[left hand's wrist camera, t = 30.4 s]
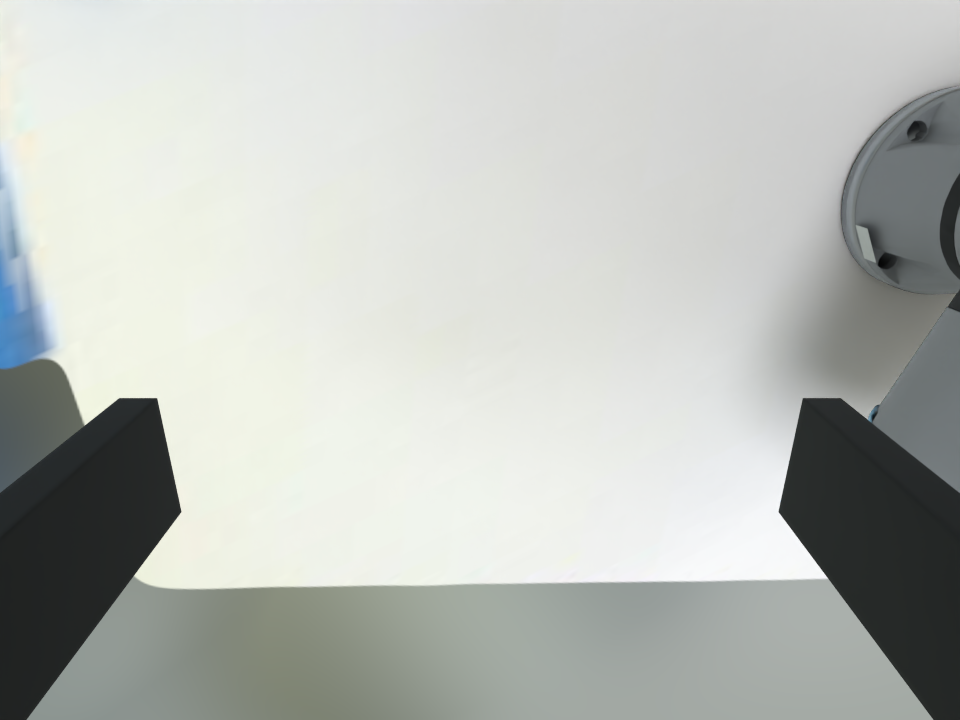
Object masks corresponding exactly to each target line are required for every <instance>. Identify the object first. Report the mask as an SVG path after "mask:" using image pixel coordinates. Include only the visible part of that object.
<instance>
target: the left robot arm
mask: <svg viewBox="0 0 960 720" xmlns="http://www.w3.org/2000/svg"><path fill="white" fill-rule="evenodd" d="M841 215H842V227H843V233H844V237H845V240H846V243H847V245H848V248H849V250H850V252H851V254H852V255H853V257H854V258H855V260H856V261H857V262H858V264H859V265H860V266H861V267H862V268H863V269H864V270H865V271H866V272H868V273H869V274H870V275H872V276H873V277H875V278H876V279H878V280H880V281H882V282H884V283H887V284H889V285H892V286H894V287H896V288H899V289H902V290H905V291H908V292H913V293H919V294H950V293H957V294H956V296H955V297H954V299H953V300H952V301H951V303H950V304H949V306H948V307H947V308H946V309H945V311H944V312H943V314H942V315H941V317H940V318H939V319H938V321H937V322H936V324H935V325H934V327H933V328H932V330H931V331H930V333H929V334H928V336H927V337H926V338H925V340H924V341H923V343H922V344H921V346H920V347H919V349H918V350H917V352H916V353H915V355H914V356H913V357H912V359H911V360H910V362H909V363H908V365H907V366H906V368H905V369H904V371H903V372H902V374H901V375H900V376H899V378H898V379H897V381H896V382H895V384H894V385H893V387H892V388H891V390H890V391H889V393H888V394H887V395H886V397H885V398H884V400H883V401H882V403H881V404H880V405H877V406H875V407H874V409H873V410H872V411H871V413H870V415H869V418H868V420H867V419H866V418H865V417H863V416H862V415H861V414H860V413H858V412H857V411H856V410H855V409H853V408H852V407H851V406H850V405H848V404H847V403H846V402H845V401H843V400H842V399H841V398H803V400H802V405H801V410H800V414H799V419H798V424H797V428H796V433H795V438H794V442H793V447H792V452H791V456H790V461H789V466H788V470H787V475H786V480H785V484H784V489H783V494H782V498H781V503H780V508H779V513H780V514H781V516H782V517H783V518H784V520H785V521H786V522H787V524H788V525H789V526H790V528H791V529H792V530H793V532H794V533H795V535H796V536H797V537H798V539H799V540H800V541H801V543H802V544H803V545H804V547H805V548H806V549H807V551H808V552H809V553H810V555H811V556H812V557H813V559H814V560H815V561H816V563H817V564H818V565H819V567H820V568H821V569H822V571H823V572H824V573H825V575H826V576H827V577H828V579H829V580H830V581H831V583H832V584H833V585H834V587H835V588H836V589H837V591H838V592H839V594H840V595H841V596H842V598H843V599H844V600H845V602H846V603H847V604H848V606H849V607H850V608H851V610H852V611H853V612H854V614H855V615H856V616H857V618H858V619H859V620H860V622H861V623H862V624H863V626H864V627H865V628H866V630H867V631H868V632H869V634H870V635H871V636H872V638H873V639H874V640H875V642H876V643H877V644H878V646H879V647H880V649H881V650H882V651H883V653H884V654H885V655H886V657H887V658H888V659H889V661H890V662H891V663H892V665H893V666H894V667H895V669H896V670H897V671H898V673H899V674H900V675H901V677H902V678H903V679H904V681H905V682H906V683H907V685H908V686H909V687H910V689H911V690H912V691H913V693H914V694H915V695H916V697H917V698H918V699H919V701H920V702H921V703H922V705H923V706H924V707H925V709H926V710H927V712H928V713H929V714H930V716H931V717H932V718H933V720H960V86H957V87H951V88H947V89H943V90H939V91H936V92H933V93H931V94H928V95H926V96H924V97H922V98H919V99H917V100H916V101H914V102H912V103H910V104H909V105H907V106H905V107H904V108H903V109H901V110H900V111H898V112H897V113H896V114H894V115H893V116H892V117H891V118H890V119H888V120H887V121H886V122H885V123H884V124H883V125H882V126H881V127H880V128H879V129H878V130H877V131H876V132H875V134H874V135H873V136H872V137H871V138H870V140H869V141H868V142H867V144H866V145H865V146H864V148H863V149H862V151H861V152H860V154H859V156H858V157H857V159H856V161H855V163H854V165H853V167H852V170H851V172H850V174H849V177H848V180H847V183H846V186H845V190H844V194H843V201H842V214H841ZM180 513H181V508H180V503H179V498H178V494H177V489H176V484H175V480H174V475H173V470H172V466H171V461H170V456H169V452H168V447H167V442H166V438H165V433H164V428H163V424H162V419H161V414H160V410H159V405H158V400H157V398H119V399H118V400H117V401H115V402H114V403H113V404H112V405H110V406H109V407H108V408H107V409H105V410H104V411H103V412H102V413H100V414H99V415H98V416H97V417H95V418H94V419H93V420H91V421H90V422H89V423H88V424H86V425H85V426H84V427H83V428H81V429H80V430H79V431H78V432H76V433H75V434H74V435H73V436H71V437H70V438H69V439H68V440H66V441H65V442H64V443H63V444H61V445H60V446H59V447H58V448H56V449H55V450H54V451H53V452H51V453H50V454H49V455H47V456H46V457H45V458H44V459H43V460H41V461H40V462H39V463H37V464H36V465H35V466H34V467H32V468H31V469H30V470H29V471H27V472H26V473H25V474H24V475H22V476H21V477H20V478H19V479H17V480H16V481H15V482H14V483H12V484H11V485H10V486H9V487H7V488H6V489H5V490H4V491H2V492H1V493H0V720H27V718H28V717H29V716H30V714H31V713H32V712H33V710H34V709H35V707H36V706H37V705H38V703H39V702H40V701H41V699H42V698H43V697H44V695H45V694H46V693H47V691H48V690H49V689H50V687H51V686H52V685H53V683H54V682H55V681H56V679H57V678H58V677H59V675H60V674H61V673H62V671H63V670H64V669H65V667H66V666H67V665H68V663H69V662H70V661H71V659H72V658H73V657H74V655H75V654H76V653H77V651H78V650H79V648H80V647H81V646H82V644H83V643H84V642H85V640H86V639H87V638H88V636H89V635H90V634H91V632H92V631H93V630H94V628H95V627H96V626H97V624H98V623H99V622H100V620H101V619H102V618H103V616H104V615H105V614H106V612H107V611H108V610H109V608H110V607H111V606H112V604H113V603H114V602H115V600H116V599H117V598H118V596H119V595H120V593H121V592H122V591H123V589H124V588H125V587H126V585H127V584H128V583H129V581H130V580H131V579H132V577H133V576H134V575H135V573H136V572H137V571H138V569H139V568H140V567H141V565H142V564H143V563H144V561H145V560H146V559H147V557H148V556H149V555H150V553H151V552H152V551H153V549H154V548H155V547H156V545H157V544H158V543H159V541H160V540H161V539H162V537H163V536H164V535H165V533H166V532H167V530H168V529H169V528H170V526H171V525H172V524H173V522H174V521H175V520H176V518H177V517H178V516H179V514H180Z"/></svg>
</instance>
